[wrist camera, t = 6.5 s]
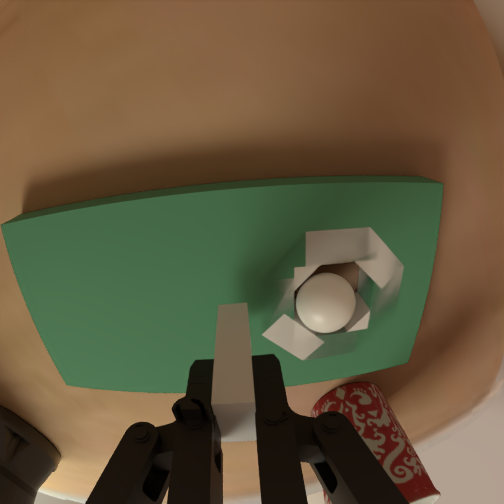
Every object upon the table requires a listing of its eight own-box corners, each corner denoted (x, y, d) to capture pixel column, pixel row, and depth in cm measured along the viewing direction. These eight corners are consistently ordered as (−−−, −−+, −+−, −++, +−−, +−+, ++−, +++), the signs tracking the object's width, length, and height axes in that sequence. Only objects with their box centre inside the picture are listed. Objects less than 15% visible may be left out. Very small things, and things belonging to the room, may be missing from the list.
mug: (287, 398, 24) (314, 537, 11) (382, 359, 23) (448, 484, 10) (322, 450, 28) (345, 545, 16) (393, 421, 27) (431, 511, 15)
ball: (323, 353, 15) (364, 326, 17) (326, 299, 14) (370, 276, 15) (284, 325, 18) (325, 304, 19) (282, 275, 17) (326, 257, 18)
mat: (76, 366, 21) (66, 385, 19) (21, 214, 16) (0, 225, 14) (395, 344, 22) (407, 362, 20) (421, 176, 17) (443, 183, 15)
